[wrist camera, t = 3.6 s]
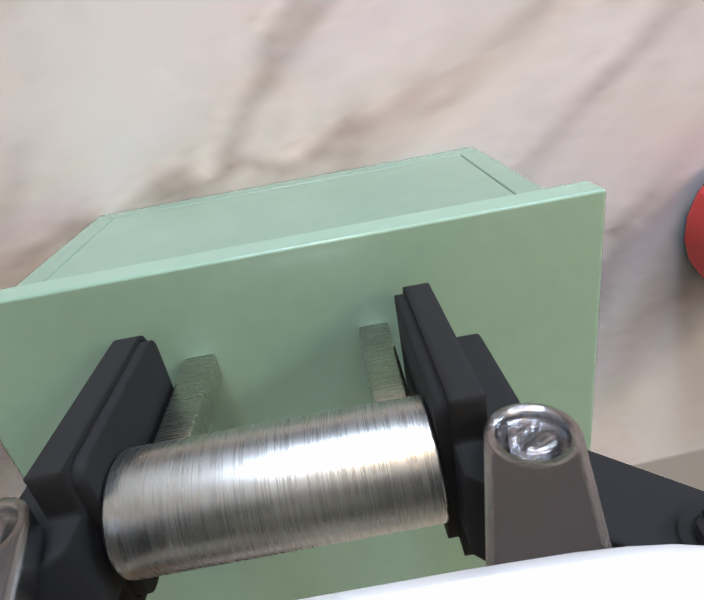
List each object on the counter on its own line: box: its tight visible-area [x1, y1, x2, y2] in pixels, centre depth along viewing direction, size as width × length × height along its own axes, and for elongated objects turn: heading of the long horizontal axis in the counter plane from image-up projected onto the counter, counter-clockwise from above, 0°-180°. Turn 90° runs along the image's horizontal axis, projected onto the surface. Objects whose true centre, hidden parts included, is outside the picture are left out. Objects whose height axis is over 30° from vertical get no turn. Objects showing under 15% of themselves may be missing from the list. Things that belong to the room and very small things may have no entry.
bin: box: [15, 147, 543, 287], centre depth 19 cm, size 14×15×9 cm
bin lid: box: [0, 181, 606, 600], centre depth 12 cm, size 14×15×6 cm
